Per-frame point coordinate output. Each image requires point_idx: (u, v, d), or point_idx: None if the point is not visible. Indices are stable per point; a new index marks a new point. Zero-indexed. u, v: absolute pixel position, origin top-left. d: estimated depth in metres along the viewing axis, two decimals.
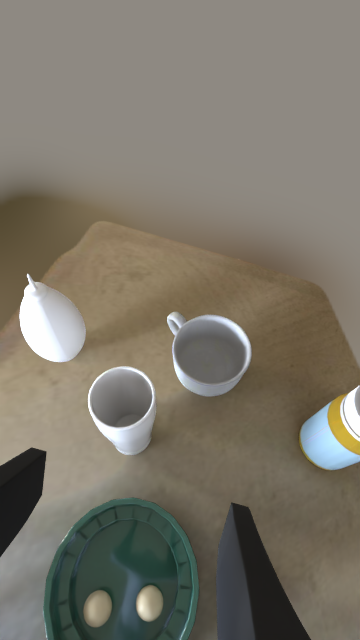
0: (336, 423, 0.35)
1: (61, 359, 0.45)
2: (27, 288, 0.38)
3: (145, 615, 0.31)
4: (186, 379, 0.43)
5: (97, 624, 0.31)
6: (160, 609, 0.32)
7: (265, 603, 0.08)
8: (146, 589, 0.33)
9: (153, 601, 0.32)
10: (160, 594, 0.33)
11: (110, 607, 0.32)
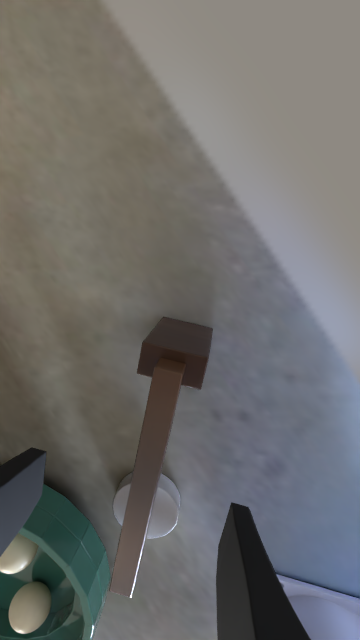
0: None
1: None
2: None
3: (17, 568, 0.21)
4: None
5: (36, 619, 0.22)
6: (13, 544, 0.21)
7: (265, 603, 0.08)
8: None
9: None
10: None
11: (23, 598, 0.22)
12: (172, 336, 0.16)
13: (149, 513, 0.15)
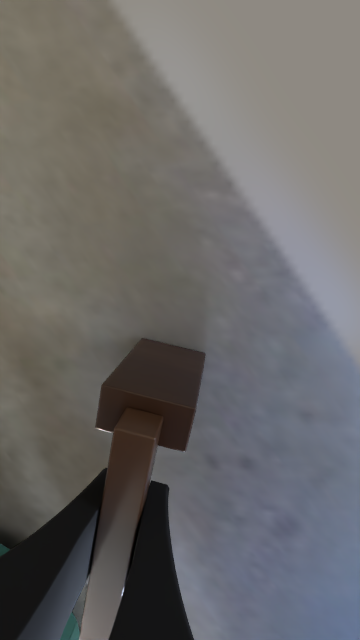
0: None
1: None
2: None
3: None
4: None
5: None
6: None
7: (147, 568, 0.08)
8: None
9: None
10: None
11: None
12: (147, 371, 0.11)
13: None
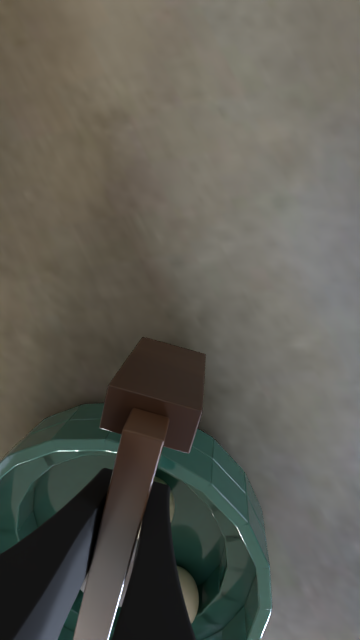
0: None
1: None
2: None
3: None
4: None
5: (197, 607, 0.17)
6: None
7: (149, 568, 0.08)
8: None
9: None
10: None
11: None
12: (151, 371, 0.11)
13: (111, 621, 0.11)
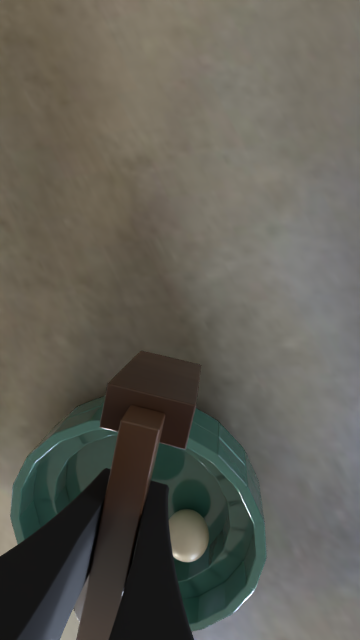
0: None
1: None
2: None
3: None
4: None
5: (203, 548, 0.19)
6: None
7: (147, 568, 0.08)
8: None
9: None
10: None
11: (196, 519, 0.20)
12: (148, 375, 0.12)
13: None
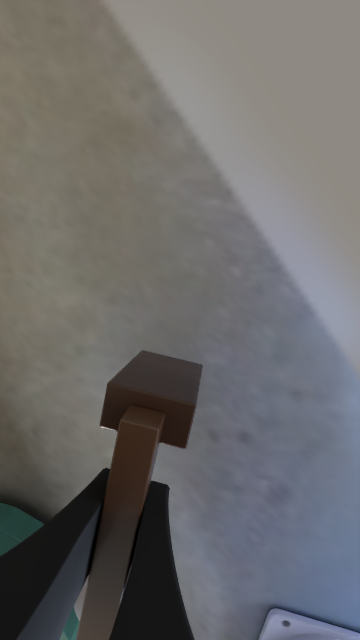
0: None
1: None
2: None
3: None
4: None
5: None
6: None
7: (147, 568, 0.08)
8: None
9: None
10: None
11: None
12: (149, 375, 0.12)
13: None
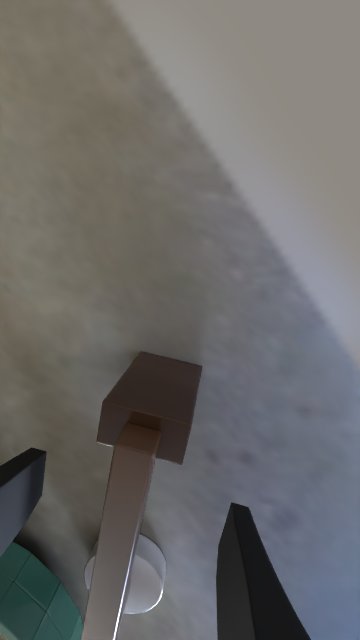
0: None
1: None
2: None
3: None
4: None
5: None
6: None
7: (265, 603, 0.08)
8: None
9: None
10: None
11: None
12: (146, 386, 0.12)
13: (115, 626, 0.11)
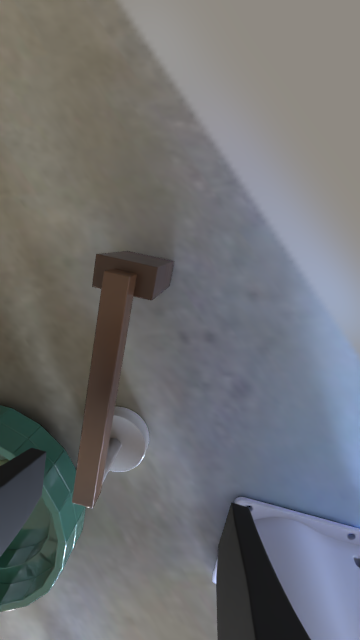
0: None
1: None
2: None
3: None
4: None
5: None
6: None
7: (265, 603, 0.08)
8: None
9: None
10: None
11: None
12: (128, 256, 0.16)
13: (105, 420, 0.16)
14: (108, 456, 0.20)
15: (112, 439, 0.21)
